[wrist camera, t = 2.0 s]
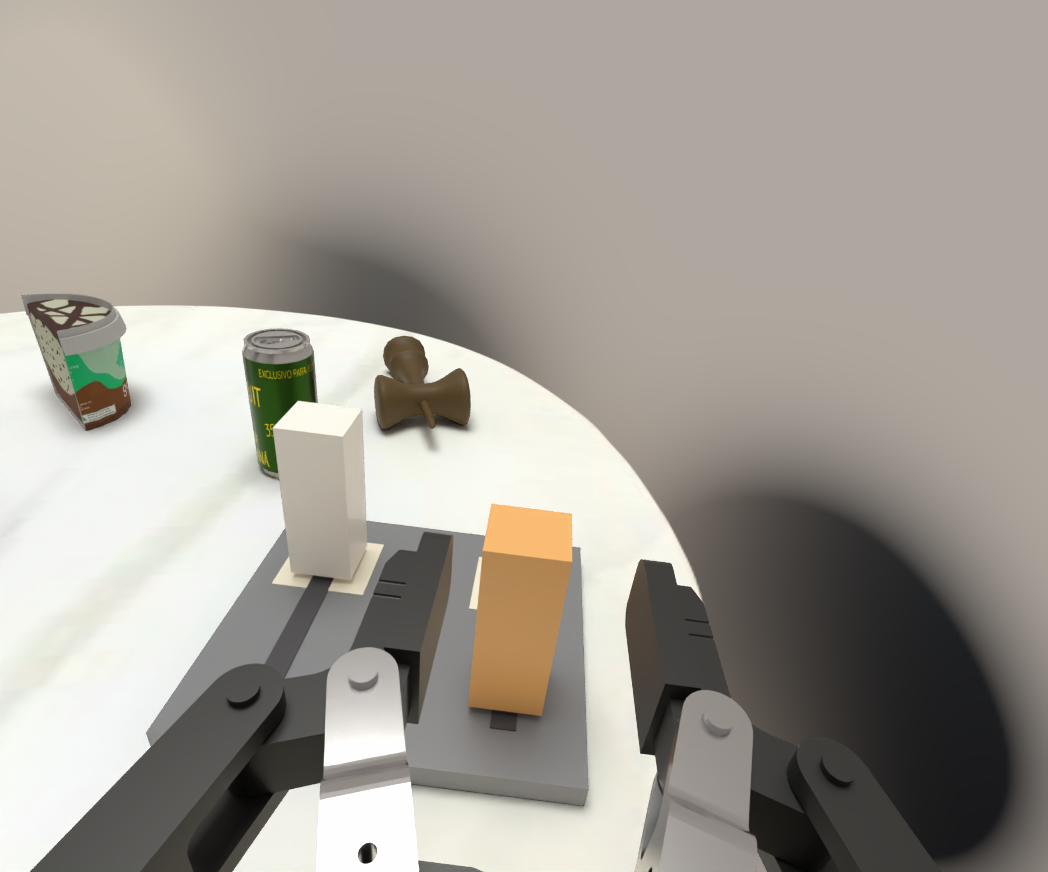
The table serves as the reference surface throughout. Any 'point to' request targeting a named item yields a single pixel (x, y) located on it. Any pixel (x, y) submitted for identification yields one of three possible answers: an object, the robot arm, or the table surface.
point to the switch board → (446, 720)
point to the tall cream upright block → (322, 488)
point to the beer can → (276, 383)
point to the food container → (82, 354)
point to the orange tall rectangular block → (519, 607)
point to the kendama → (417, 388)
